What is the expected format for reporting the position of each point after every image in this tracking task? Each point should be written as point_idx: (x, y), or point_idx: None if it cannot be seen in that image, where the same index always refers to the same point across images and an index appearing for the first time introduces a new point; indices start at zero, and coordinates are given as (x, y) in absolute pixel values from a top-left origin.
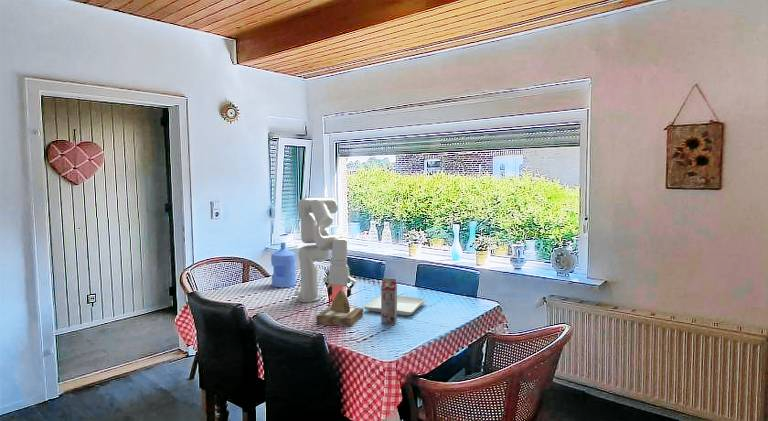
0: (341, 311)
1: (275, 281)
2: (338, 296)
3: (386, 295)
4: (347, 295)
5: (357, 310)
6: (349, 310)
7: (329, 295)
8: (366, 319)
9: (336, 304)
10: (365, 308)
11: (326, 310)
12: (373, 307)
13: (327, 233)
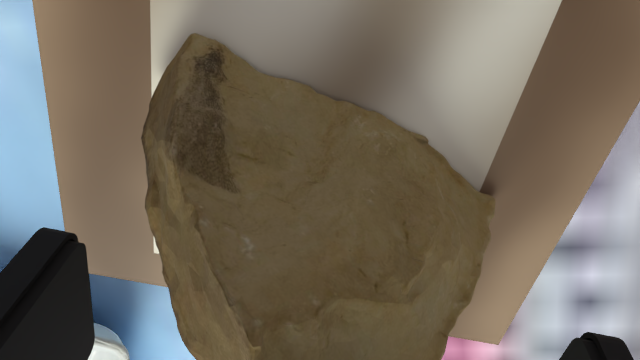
0: (293, 85)
1: None
2: (359, 355)
3: None
4: (27, 261)
5: (95, 187)
6: (154, 94)
7: (597, 335)
8: (15, 95)
9: (391, 200)
10: (115, 335)
11: (551, 171)
12: None
13: None
